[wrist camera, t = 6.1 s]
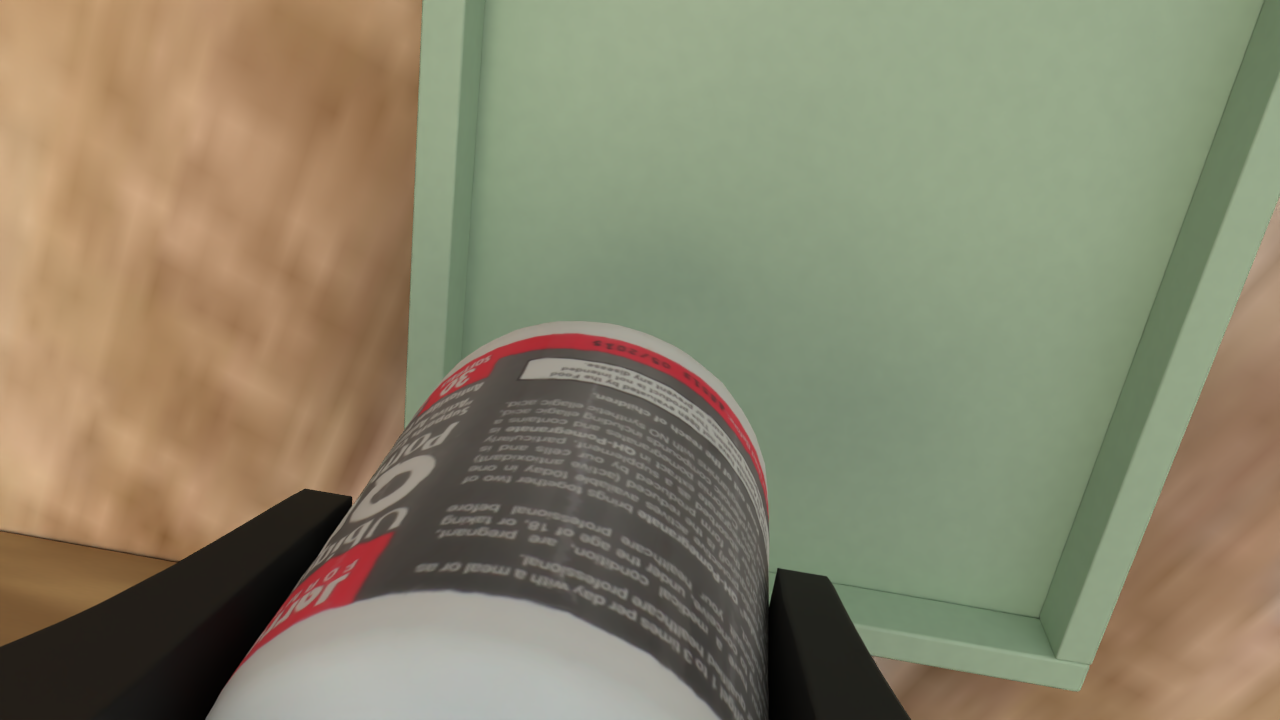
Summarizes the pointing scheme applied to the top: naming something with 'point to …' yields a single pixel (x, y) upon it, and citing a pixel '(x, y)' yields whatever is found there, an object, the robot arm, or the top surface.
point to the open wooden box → (60, 581)
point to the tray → (877, 264)
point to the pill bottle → (539, 552)
